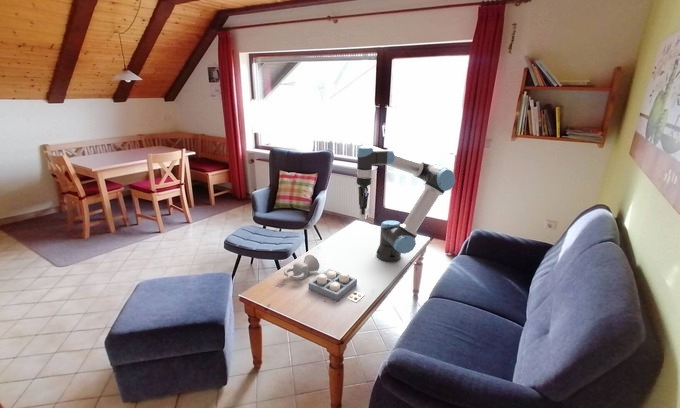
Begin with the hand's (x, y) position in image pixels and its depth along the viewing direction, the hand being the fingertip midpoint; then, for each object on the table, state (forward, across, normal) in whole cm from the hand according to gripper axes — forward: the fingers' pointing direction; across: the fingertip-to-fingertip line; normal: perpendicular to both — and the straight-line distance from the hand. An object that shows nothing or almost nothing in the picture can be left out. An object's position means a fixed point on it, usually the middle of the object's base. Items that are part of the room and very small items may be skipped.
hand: (362, 219), depth 184 cm
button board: (+32, +13, -18) cm, 39 cm away
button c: (+29, +13, -12) cm, 34 cm away
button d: (+31, +8, -18) cm, 37 cm away
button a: (+31, +19, -18) cm, 41 cm away
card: (+32, +23, -8) cm, 41 cm away
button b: (+29, +13, -24) cm, 40 cm away
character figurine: (+33, -2, -33) cm, 46 cm away
